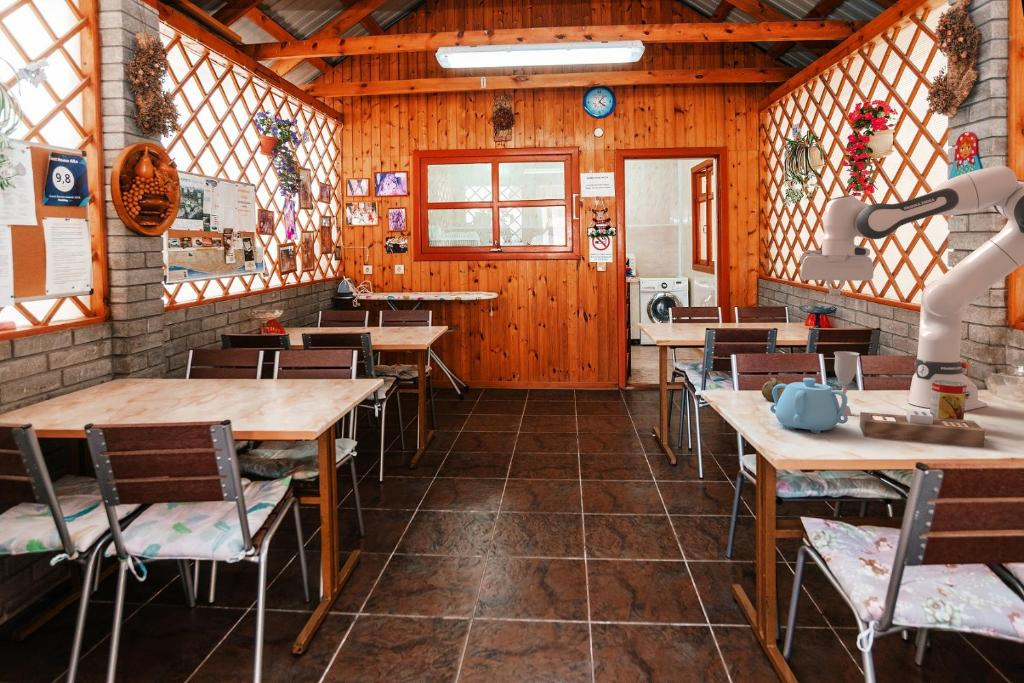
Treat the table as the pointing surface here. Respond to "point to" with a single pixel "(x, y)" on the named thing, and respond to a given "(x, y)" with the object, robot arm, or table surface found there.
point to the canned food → (948, 399)
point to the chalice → (845, 371)
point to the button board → (922, 430)
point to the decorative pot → (809, 406)
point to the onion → (769, 387)
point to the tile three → (954, 424)
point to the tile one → (883, 418)
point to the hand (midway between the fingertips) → (834, 295)
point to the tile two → (919, 417)
